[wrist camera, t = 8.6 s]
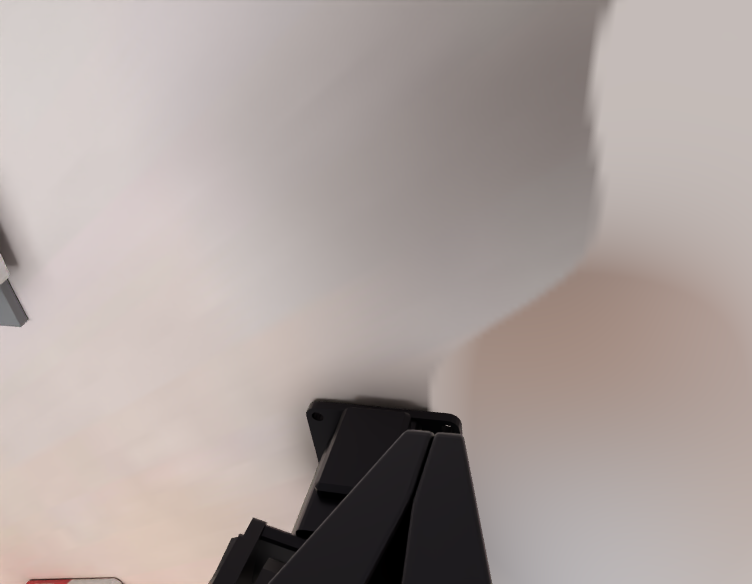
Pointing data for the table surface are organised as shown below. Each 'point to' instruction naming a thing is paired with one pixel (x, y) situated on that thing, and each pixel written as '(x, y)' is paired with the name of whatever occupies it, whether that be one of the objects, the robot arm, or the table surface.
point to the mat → (10, 307)
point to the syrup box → (3, 271)
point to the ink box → (77, 581)
